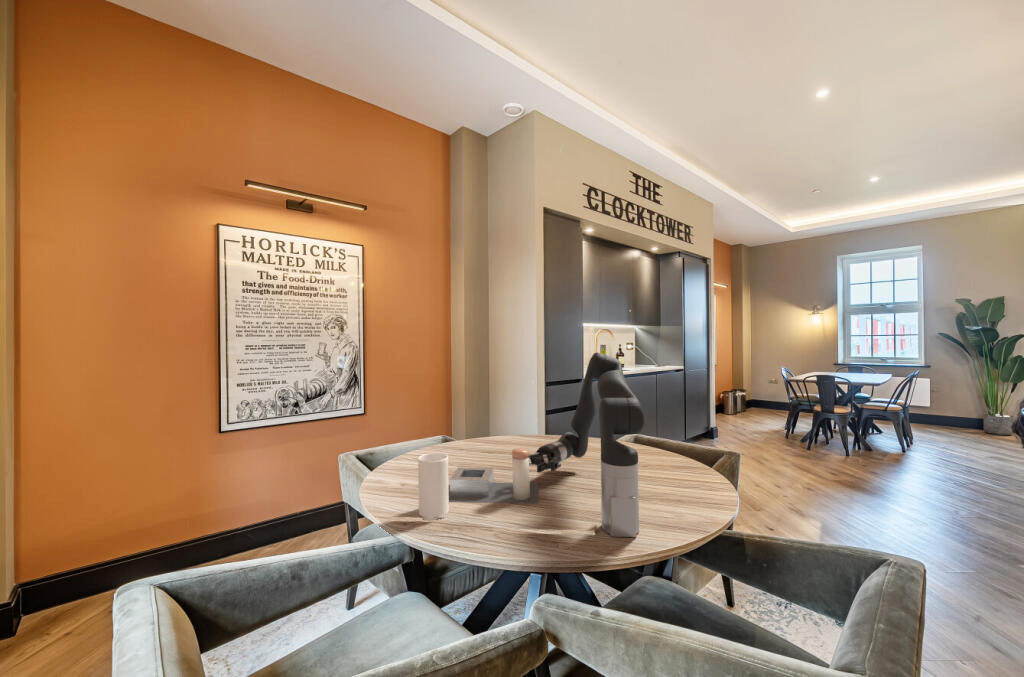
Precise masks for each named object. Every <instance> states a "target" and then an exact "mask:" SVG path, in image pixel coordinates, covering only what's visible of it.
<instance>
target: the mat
mask: <svg viewBox="0 0 1024 677" xmlns="http://www.w3.org/2000/svg"><path fill="white" fill-rule="evenodd" d="M539 487H540V482H530V498H529V499H527V500H516V499H514V496H513V482H495V481H494V484H493V487H492V489H491V492H490V495H489V497H477V496H450V491H449V503H472V504H473V503H477V504H478V503H479V504H482V503H483V504H487V503H488V504H523V505H525V504H527V505H538V504H539V492H540V491H539V490H540V488H539Z"/></svg>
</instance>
